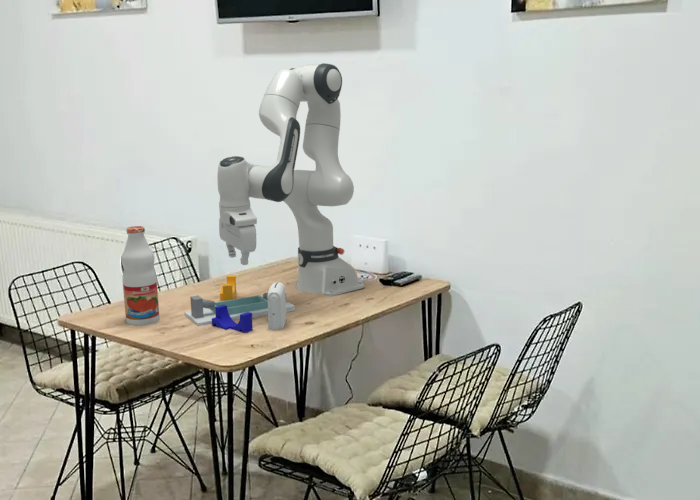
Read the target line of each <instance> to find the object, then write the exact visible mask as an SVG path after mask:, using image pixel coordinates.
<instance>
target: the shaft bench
mask: <svg viewBox="0 0 700 500" xmlns="http://www.w3.org/2000/svg"><path fill="white" fill-rule="evenodd" d="M285 295H286V296H287V292H285ZM267 296H268V292H265V293H263V294H262V296H261V295H260V294H257V295H251V296H245V297H239V298H235V299H232V300H226V301H213V300H209V299H204V298H202V297H201V296H200V295H192V296H190V310H188V311H183V313H184V317H186V318H187V319H188V320H190V321H191V322H192V323H194V324H195V325H196V326H197V327H200V326H205V325H212V318H215V317H216V311H215V307H217V306H220V305H227V309H228V313H229V315H230V317H231V319H232V320H233V321H239V320H240V314H243V313H246V312H250V313H252V319H253V318H258V317H259V318H260V317H266V316H268V298H267ZM295 310H296V307H295V305H294V304H292V303H291V302H289V301H288V300H286V313H290V312H295Z"/></svg>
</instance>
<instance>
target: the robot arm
mask: <svg viewBox="0 0 700 500" xmlns="http://www.w3.org/2000/svg"><path fill="white" fill-rule="evenodd" d="M342 87H343V77H342V73H341V71H340V70H339V68H338V67H337V66H335V64H331V63H321V64H317V63H315V64H306V65H303V66H299V67H298V66H297V67H296V68H295V67H294V68H293V67H291V68H284V69H279V70H278V71H276V72H275V74H274V75H273V77H272V78H271V80H270V82H269V84H268V86H267V87H266V90H265V92H264V94H263V97H262V99H261V102H260V105H259V109H258V116H259V119H260V121H261V124H262V125H263V126H264V127H265V128H266V129H267V130H269V132H271V133H273V134H274V135H277V136H279V138H280V140H279V146H278V147H279V148H278V153H277V158H276V162H275V163H274V164H273V165H259V164H254V163H251V162H248V161H247V160H246V159H245V157H243V156H237V155H236V156H230V157H229V156H228V157H225V158H223V159H222V160H220V162H219V163H218V166H217V167H218V168H217V191H218V194H219V202H218V207H219V219H218V227H219V228H218V229H219V233H218V234H219V238H220V240H222V241H223V242H225V245H226V248H227V253H228V257H229V258H232V259H233V258H236V257H237V251H236V250H235V249H238V251H240V255H241V258H240V259H239V260H240V264H241V265H242V266H247V265H249V256H250V253H253V252H255V251H256V250H257V230H256V229H257V228H256V226H255V225H257V224H258V219H257V215H255V213H254V212H253V210H252V208H251V201H250V198H254V199H261V200H268V201H270V202H271V201H272V202H276V203H280V202H283V203H285V204H286V205H287V207H288V208H289V209H290V211H291V212H292V214H293V216H294V219H295V221H296V225H297V231H298V232H297V234H298V246H299V247H298V248H297V261H298V276H297V281H296V282H297V283H296V286H295V289H296V290H297V291H299V292H302V293H309V294H323V295H324V296H326V297H334V296H338V295H341V294H346V293H350V292H353V291H358V290H361V289H364V288H365V285H364V282H363V280H360V279H358V277H357V272H356V269H355V268H354V267H353V266H352V265H351V264H350V263H348V262H347V261H345V260H344V259H343V258H341V257H340V256H339V255H344V254H345V249H344V248H342V247H337V246H334V226H333V222H332V221H331V220H330V219H329V218H328V217H326V216H325V215H323V214H322V212H321V211H320V210H319V207H338V206H339V207H340V206H344V205H347V204H348V203H349V202H350V201H351V200H352V198H353V195H354V192H355V191H354V189H355V188H354V187H355V185H354V182H353V180H352V179H351V177H350V176H349V175H348V174H347V173H346V171H344V170H343V168H342V165H341V163H340V160H339V140H340V139H339V138H340V130H341V118H342V117H341V102H340V100H339V97H340V94H341V92H342ZM301 102H303V103H305V102H306V103H307V108H308V111H307V115H306V119H305V120H306V121H305V124H304V125H305V126H304V134H303V141H302V150H303V152H304V154H305V155H306V156H307V157H308V158H310V159H311V160H313V161H314V162H315V170H308V169H307V170H306V169H305V170H304V169H295V167H296V161H297V156H298V149H299V145H300V139H301V125H300V123H299V121H298V120H297V114H298V111H299V108H300V105H301ZM318 206H319V207H318Z"/></svg>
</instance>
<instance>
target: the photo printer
mask: <svg viewBox="0 0 700 500" xmlns="http://www.w3.org/2000/svg"><path fill="white" fill-rule="evenodd" d="M267 291H268V292H267V293H268V296H267V298H268V315H267V316H268V317H267V318H268V330H271V331H279V330H280V331H281V330H283V328H284V327H285V325H286V322H287V312H286V301H287V294H286V295H285V293H286V286H285V285H284V284H283V283H282V282H280V281H279V282H277V281H275V282H273V283H272V284H271V285H270V287H269V288H268V290H267Z"/></svg>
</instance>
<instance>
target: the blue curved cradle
mask: <svg viewBox="0 0 700 500" xmlns="http://www.w3.org/2000/svg"><path fill="white" fill-rule="evenodd" d="M215 311H216V317H215V318H212V324H211V326H212V327H215V326H216V328H217V329H221V330H224V331H226V330H233V331H237V332H239V333H240V332H242V333H243V334H245V333H249V332H252V331H254V329H253V327H254V326H253V318H252V313H250V312H246V313H243V314H240V320H238V322H235V320H232V319H231V317H230V315H229V313H228V309H227V305H220V306H217V307H215Z"/></svg>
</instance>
